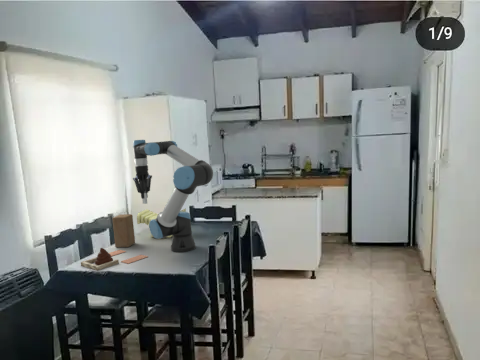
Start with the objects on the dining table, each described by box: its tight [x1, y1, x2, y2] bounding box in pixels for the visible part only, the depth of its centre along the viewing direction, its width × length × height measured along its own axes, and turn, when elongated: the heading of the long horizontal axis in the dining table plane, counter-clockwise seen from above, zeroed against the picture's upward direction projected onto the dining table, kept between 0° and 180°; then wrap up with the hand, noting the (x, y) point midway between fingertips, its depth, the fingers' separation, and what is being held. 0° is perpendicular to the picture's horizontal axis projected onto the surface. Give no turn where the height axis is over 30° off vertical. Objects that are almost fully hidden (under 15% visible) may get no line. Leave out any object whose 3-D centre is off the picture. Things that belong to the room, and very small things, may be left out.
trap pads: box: [108, 249, 149, 265], centre depth 247 cm, size 29×14×1 cm, turn 50°
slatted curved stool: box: [136, 208, 187, 238], centre depth 291 cm, size 30×16×18 cm, turn 75°
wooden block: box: [112, 213, 136, 248], centre depth 272 cm, size 10×10×20 cm
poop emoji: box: [94, 247, 114, 265], centre depth 236 cm, size 10×8×9 cm
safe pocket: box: [80, 256, 120, 271], centre depth 235 cm, size 17×14×2 cm
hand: (145, 203), depth 255 cm, fingers closed
